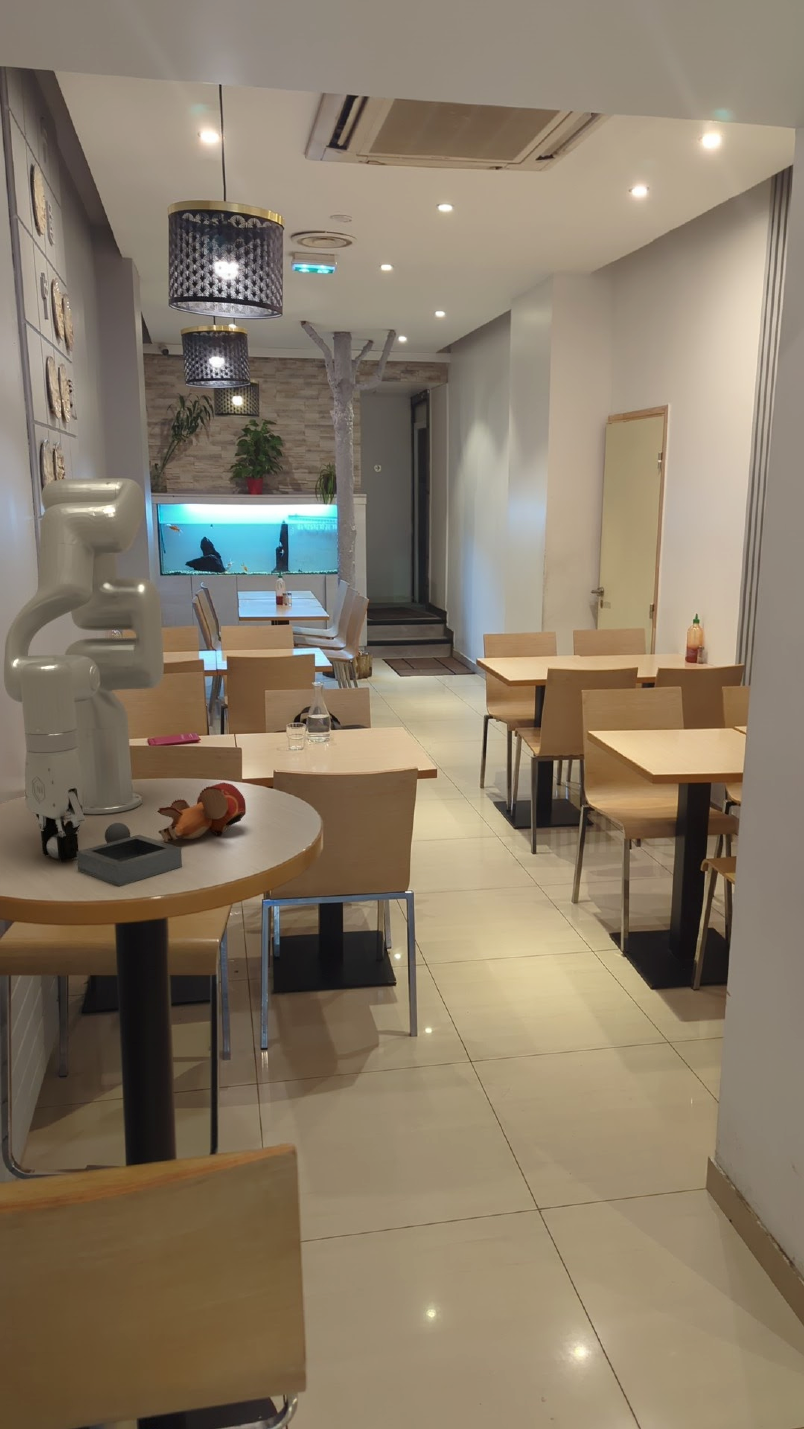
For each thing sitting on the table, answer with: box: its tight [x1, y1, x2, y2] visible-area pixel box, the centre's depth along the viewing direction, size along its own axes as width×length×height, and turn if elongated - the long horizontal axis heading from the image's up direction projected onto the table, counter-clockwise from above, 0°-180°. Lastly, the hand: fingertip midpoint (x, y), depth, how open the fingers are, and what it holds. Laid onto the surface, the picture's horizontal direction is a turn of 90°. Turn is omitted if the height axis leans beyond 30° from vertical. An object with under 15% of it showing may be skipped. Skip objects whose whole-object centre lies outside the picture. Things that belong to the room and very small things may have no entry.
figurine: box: [157, 782, 247, 843], centre depth 163 cm, size 20×9×15 cm
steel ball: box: [47, 833, 60, 860], centre depth 153 cm, size 4×4×4 cm
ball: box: [104, 822, 131, 843], centre depth 158 cm, size 4×4×4 cm
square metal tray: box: [76, 834, 183, 887], centre depth 147 cm, size 11×11×3 cm
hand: (60, 855), depth 153 cm, fingers closed on steel ball, 4 cm apart
